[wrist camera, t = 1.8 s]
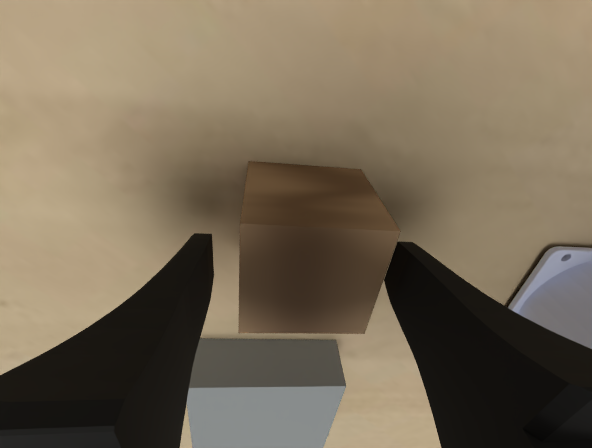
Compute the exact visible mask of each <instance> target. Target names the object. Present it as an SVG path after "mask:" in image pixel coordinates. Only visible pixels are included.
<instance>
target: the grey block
mask: <svg viewBox="0 0 592 448" xmlns="http://www.w3.org/2000/svg"><path fill="white" fill-rule="evenodd" d="M345 388H346V383H345V378H344V374H343V369H342V365H341V360H340V356H339V351H338V347H337V342H336V340H296V339H200V340H199V343H198V347H197V351H196V354H195V359H194V363H193V367H192V373H191V379H190V385H189V391H188V396H187V408H188V416H189V423H190V431H191V439H192V447H193V448H323V447H324V444H325V442H326V439H327V436H328V434H329V431H330V428H331V425H332V423H333V420H334V417H335V415H336V412H337V409H338V407H339V404H340V401H341V399H342V396H343V393H344V391H345Z"/></svg>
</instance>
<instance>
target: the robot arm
mask: <svg viewBox="0 0 592 448" xmlns="http://www.w3.org/2000/svg"><path fill="white" fill-rule="evenodd" d="M213 278H214V269H213V247H212V234H199V233H195V234H193V235H192V236H191V237H190V239H189V240H188V241H187V242H186V243H185V244H184V246H183V247H182V248H181V249H180V250H179V251H178V252H177V254H176V255H175V256H174V257H173V258H172V259H171V260H170V261H169V262H168V263H167V264H166V265H165V266H164V267H163V268H162V269H161V270H160V271H159V272H158V273H157V274H156V275H155V276H154V277H153V278H152V279H151V280H150V281H148V282H147V283H146V284H145V285H144V286H143V287H142V288H141V289H140V290H138V291H137V292H136V293H135V294H134V295H132V296H131V297H130V298H129V299H127V300H126V301H125V302H124V303H122V304H121V305H120V306H118V307H117V308H116V309H114V310H113V311H111V312H110V313H108V314H107V315H106V316H104V317H103V318H101V319H100V320H98V321H97V322H95V323H94V324H92V325H91V326H89V327H88V328H86V329H85V330H83V331H81V332H80V333H78V334H76V335H75V336H73V337H71V338H70V339H68V340H66V341H64V342H63V343H61V344H59V345H58V346H56V347H54V348H52V349H50V350H49V351H47V352H45V353H43V354H41V355H39V356H37V357H35V358H34V359H32V360H30V361H28V362H26V363H24V364H22V365H20V366H18V367H16V368H14V369H12V370H10V371H8V372H6V373H4V374H2V375H0V448H179V447H180V441H181V434H182V427H183V421H184V415H185V409H186V403H187V396H188V391H189V385H190V379H191V373H192V367H193V363H194V359H195V354H196V351H197V347H198V343H199V340H200V336H201V332H202V329H203V325H204V322H205V318H206V314H207V310H208V307H209V303H210V299H211V292H212V285H213ZM384 281H385V285H386V289H387V293H388V296H389V299H390V303H391V305H392V307H393V310H394V312H395V314H396V317H397V319H398V321H399V323H400V326H401V328H402V330H403V332H404V335H405V337H406V339H407V341H408V344H409V346H410V348H411V350H412V353H413V355H414V358H415V360H416V363H417V365H418V368H419V371H420V375H421V378H422V381H423V384H424V387H425V390H426V393H427V397H428V400H429V403H430V407H431V410H432V414H433V417H434V421H435V425H436V428H437V432H438V436H439V440H440V444H441V448H592V248H583V247H561V246H557V247H553V248H550V249H549V250H547V252H546V253H545V254H544V256H543V257H542V258H541V260H540V261H539V263H538V264H537V266H536V267H535V269H534V270H533V271H532V273H531V274H530V276H529V277H528V279H527V280H526V282H525V283H524V284H523V286H522V287H521V289H520V290H519V292H518V293H517V295H516V296H515V297H514V299H513V300H512V302H511V303H510V305H509V306H508V308H507V307H505V306H504V305H502V304H500V303H499V302H497V301H495V300H494V299H492V298H490V297H489V296H487V295H486V294H484V293H483V292H481V291H480V290H478V289H477V288H475V287H474V286H472V285H471V284H469V283H468V282H466V281H465V280H464V279H462V278H461V277H459V276H458V275H457V274H455V273H454V272H453V271H451V270H450V269H449V268H447V267H446V266H445V265H443V264H442V263H441V262H439V261H438V260H437V259H435V258H434V257H433V256H431V255H430V254H429V253H427V252H426V251H424V250H423V249H422V248H420V247H419V246H417V245H416V244H414V243H413V242H397V245H396V248H395V251H394V253H393V256H392V259H391V262H390V265H389V267H388V270H387V273H386V276H385V279H384Z"/></svg>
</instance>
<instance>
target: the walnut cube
mask: <svg viewBox="0 0 592 448" xmlns="http://www.w3.org/2000/svg"><path fill="white" fill-rule="evenodd" d="M400 232H401V231H400V230H399V228H398V227H397V225H396V223H395V222H394V220H393V219H392V217H391V216H390V214H389V212H388V211H387V209H386V208H385V206H384V205H383V203H382V202H381V200H380V198H379V197H378V195H377V194H376V192H375V191H374V189H373V187H372V186H371V184H370V183H369V181H368V180H367V178H366V177H365V175H364V173H363V172H362V170H361V169H348V168H334V167H320V166H307V165H293V164H280V163H266V162H252V161H249V162H248V169H247V176H246V184H245V191H244V198H243V206H242V213H241V220H240V264H239V333H336V334H365V331H366V328H367V325H368V322H369V319H370V317H371V314H372V311H373V308H374V305H375V302H376V300H377V297H378V294H379V291H380V288H381V285H382V283H383V280H384V277H385V274H386V271H387V268H388V266H389V263H390V260H391V257H392V254H393V251H394V249H395V246H396V243H397V240H398V237H399V234H400Z"/></svg>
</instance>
